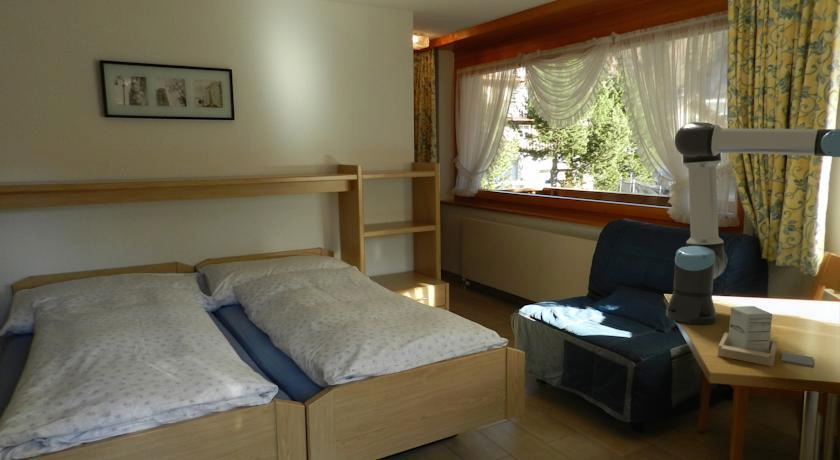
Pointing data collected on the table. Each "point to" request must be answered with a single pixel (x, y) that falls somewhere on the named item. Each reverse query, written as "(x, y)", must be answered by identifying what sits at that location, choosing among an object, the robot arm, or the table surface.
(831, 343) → the table surface
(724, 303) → the table surface
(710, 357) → the table surface
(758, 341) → the supplement box
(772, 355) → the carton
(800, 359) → the coaster
